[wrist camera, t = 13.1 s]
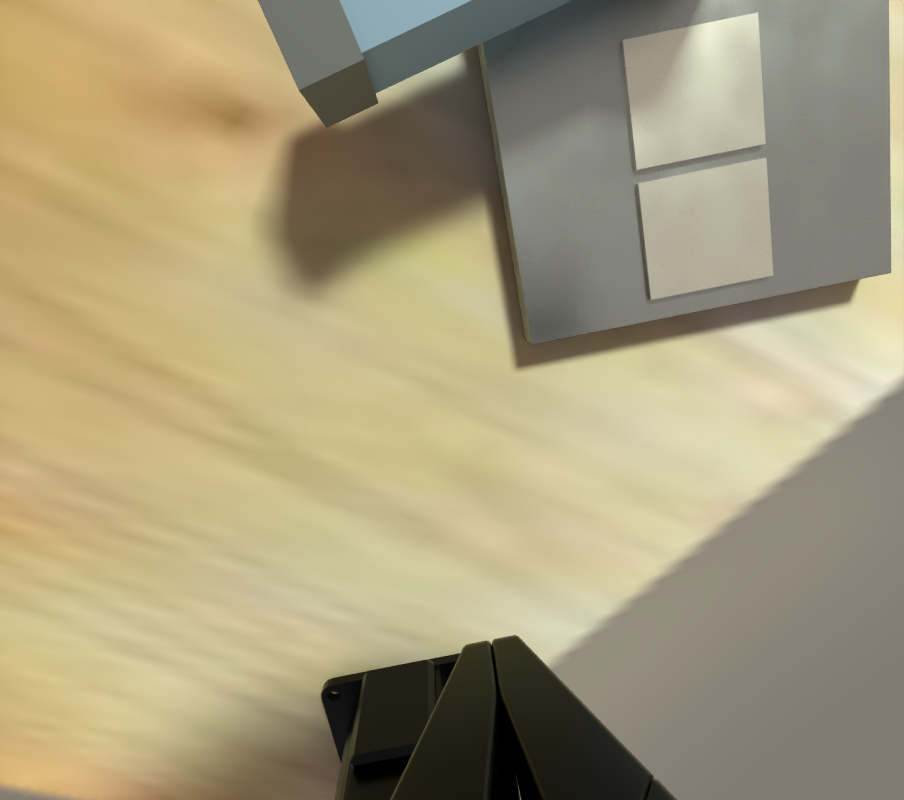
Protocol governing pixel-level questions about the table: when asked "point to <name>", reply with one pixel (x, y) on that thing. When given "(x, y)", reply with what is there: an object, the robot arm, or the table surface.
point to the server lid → (689, 154)
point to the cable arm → (381, 42)
